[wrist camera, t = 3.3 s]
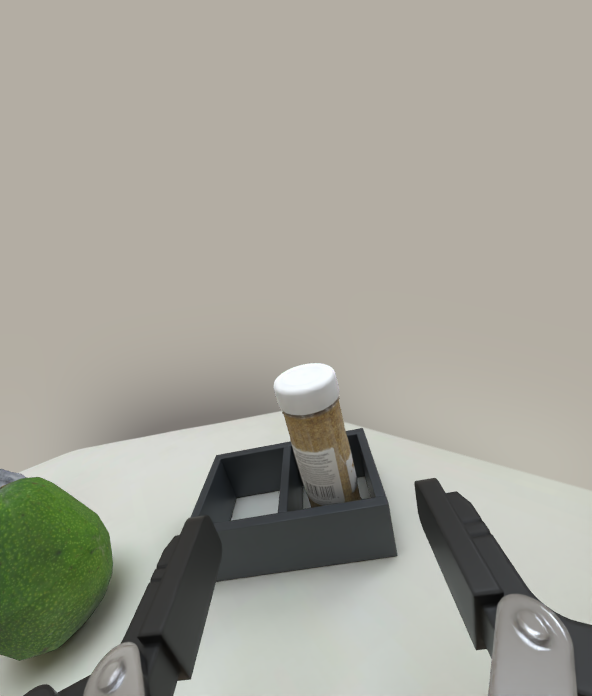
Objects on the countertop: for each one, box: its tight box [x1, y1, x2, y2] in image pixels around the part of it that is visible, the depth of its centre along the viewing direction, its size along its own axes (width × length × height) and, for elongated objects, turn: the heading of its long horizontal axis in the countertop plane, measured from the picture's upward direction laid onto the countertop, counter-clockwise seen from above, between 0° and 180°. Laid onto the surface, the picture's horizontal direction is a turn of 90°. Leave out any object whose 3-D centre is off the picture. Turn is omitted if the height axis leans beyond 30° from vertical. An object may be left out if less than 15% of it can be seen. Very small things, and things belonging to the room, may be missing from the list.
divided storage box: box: [190, 428, 397, 581], centre depth 24 cm, size 14×8×5 cm, turn 89°
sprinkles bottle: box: [274, 363, 362, 508], centre depth 22 cm, size 5×5×14 cm
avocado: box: [0, 477, 113, 661], centre depth 20 cm, size 8×8×12 cm
